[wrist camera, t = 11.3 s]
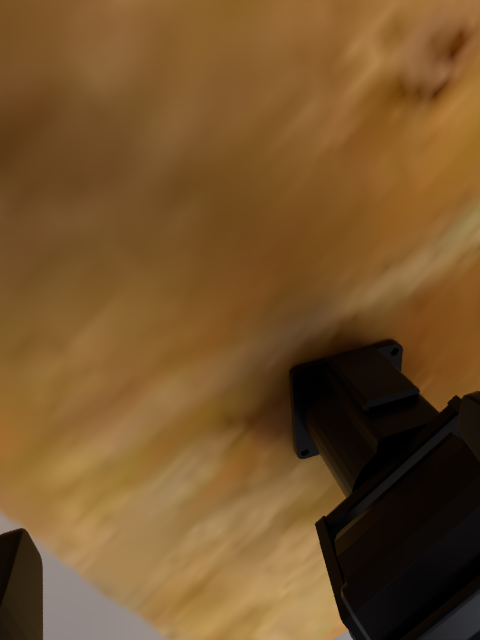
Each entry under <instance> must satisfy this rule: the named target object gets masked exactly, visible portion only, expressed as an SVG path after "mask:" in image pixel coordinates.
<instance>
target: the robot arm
mask: <svg viewBox="0 0 480 640" xmlns="http://www.w3.org/2000/svg"><path fill="white" fill-rule="evenodd" d="M392 349H394V350H393V351H391V350H392ZM402 352H403V349H402V346H401V345H400V344H399V343H398V342H397V341H394V340H393V341H388V342H384V343H380V344H376V345H373V346H368V347H364V348H360V349H357V350H353V351H349V352H345V353H341V354H338V355H334V356H331V357H327V358H323V359H319V360H316V361H312V362H308V363H304V364H300V365H297V366H295V367H293V368H292V369H291V371H290V375H289V377H290V391H291V406H292V421H293V436H294V450H295V453H296V455H297V457H298V458H300V459H306V458H309V457H312V456H316V455H319V454H320V455H321V457H322V458H323V460H324V462H325V463H326V465H327V467H328V468H329V470H330V472H331V473H332V475H333V477H334V478H335V480H336V482H337V483H338V485H339V486H340V488H341V490H342V491H343V493H344V495H345V496H346V499H345V500H343V501H342V502H341V503H340V504H339V505H338V506H337V507H336V508H335V509H334V510H333V511H331V512H330V513H329V514H328V515H327V516H323V517H322V518H321V519H320V520H318V521H317V522H316V523H315V526H316V530H317V534H318V537H319V541H320V546H321V549H322V553H323V557H324V560H325V564H326V568H327V571H328V575H329V578H330V582H331V586H332V589H333V593H334V597H335V600H336V604H337V607H338V611H339V615H340V618H341V620H342V622H343V624H344V625H345V626H346V627H347V629H348V630H349V633H350V635H351V637H352V639H353V640H480V391H476V392H473V393H470V394H466V395H464V396H463V398H462V399H460V398H459V397H458V396H457V395H455V396H454V397H453V398H452V399H451V400H450V401H449V402H448V403H447V404H448V406H447V407H446V408H444V409H443V410H442V411H441V412H438V411H437V410H436V409H435V408H434V407H433V406H432V405H431V404H430V403H429V402H428V401H427V400H426V399H425V398H424V397H423V396H422V395H420V394H419V393H420V390H419V388H418V387H416V386H415V385H414V384H413V383H412V382H411V381H410V380H409V379H408V378H407V377H406V376H405V375H404V374H403V373H401V363H402ZM300 373H302V375H301V376H299V377H297V376H298V374H300ZM0 640H43V567H42V559H41V556H40V554H39V552H38V550H37V548H36V546H35V544H34V543H33V541H32V539H31V537H30V535H29V533H28V532H27V531H26V530H25V529H23V528H19V529H16V530H13V531H9V532H6V533H3V534H1V535H0Z"/></svg>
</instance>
